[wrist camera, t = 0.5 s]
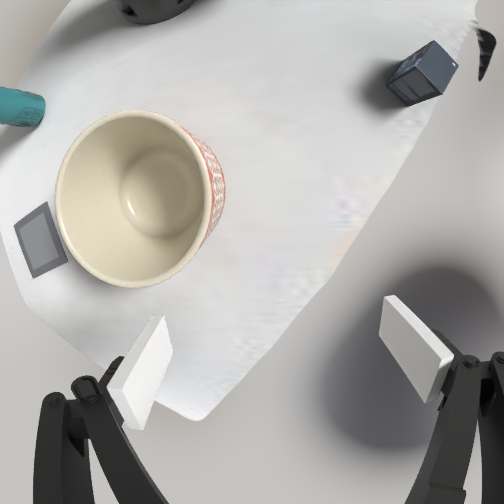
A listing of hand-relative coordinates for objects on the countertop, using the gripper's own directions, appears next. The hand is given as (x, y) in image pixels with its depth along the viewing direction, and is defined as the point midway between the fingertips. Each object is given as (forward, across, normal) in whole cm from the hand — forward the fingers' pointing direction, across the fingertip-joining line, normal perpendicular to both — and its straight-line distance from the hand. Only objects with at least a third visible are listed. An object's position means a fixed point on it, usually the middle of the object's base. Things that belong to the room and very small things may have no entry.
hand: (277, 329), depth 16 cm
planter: (+28, -14, +7) cm, 32 cm away
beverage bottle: (+28, -40, +28) cm, 56 cm away
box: (+28, +26, +24) cm, 46 cm away
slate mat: (+27, -43, +2) cm, 51 cm away
